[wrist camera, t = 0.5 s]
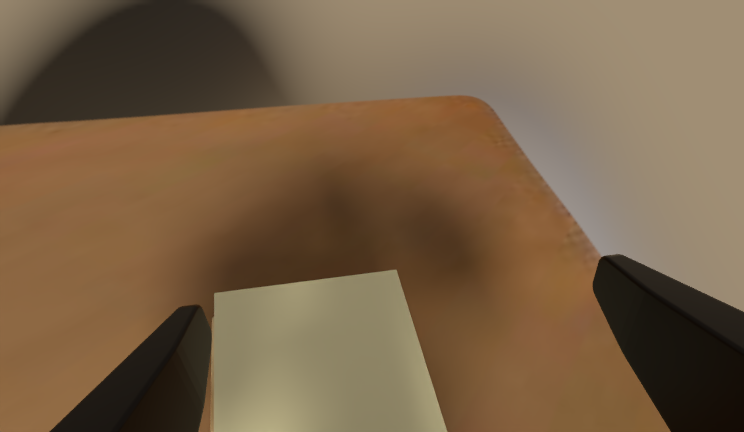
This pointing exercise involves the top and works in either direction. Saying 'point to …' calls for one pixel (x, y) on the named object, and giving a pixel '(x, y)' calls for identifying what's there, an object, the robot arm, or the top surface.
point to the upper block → (321, 359)
